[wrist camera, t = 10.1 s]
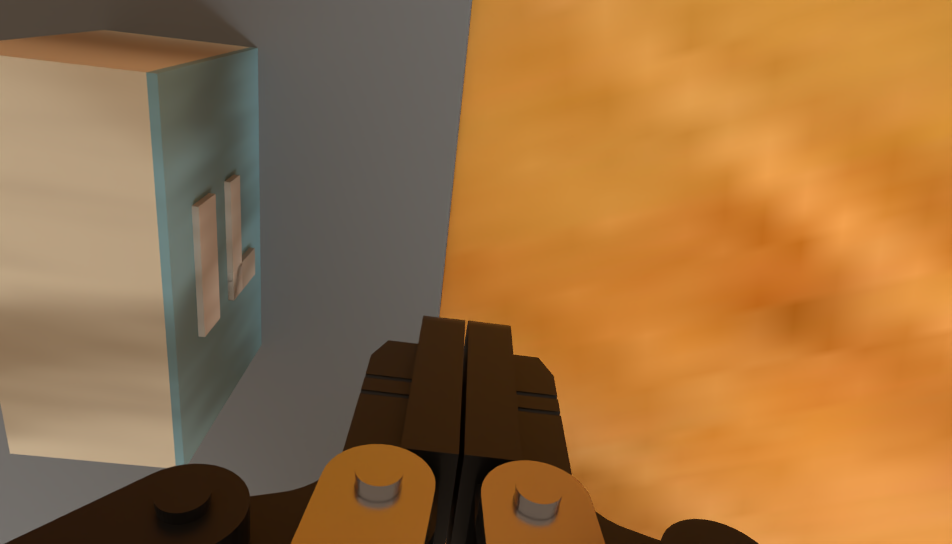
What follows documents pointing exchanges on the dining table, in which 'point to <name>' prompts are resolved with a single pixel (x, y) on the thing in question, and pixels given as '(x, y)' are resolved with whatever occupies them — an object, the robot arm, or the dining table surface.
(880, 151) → the dining table surface
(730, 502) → the dining table surface
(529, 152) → the dining table surface
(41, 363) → the block
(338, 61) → the mat
